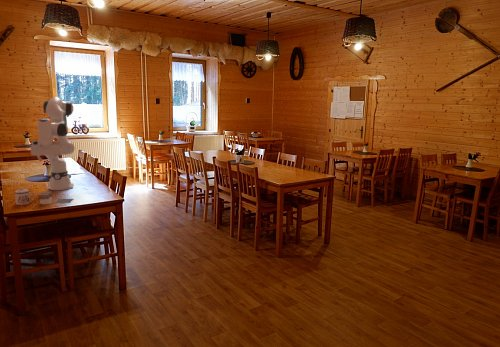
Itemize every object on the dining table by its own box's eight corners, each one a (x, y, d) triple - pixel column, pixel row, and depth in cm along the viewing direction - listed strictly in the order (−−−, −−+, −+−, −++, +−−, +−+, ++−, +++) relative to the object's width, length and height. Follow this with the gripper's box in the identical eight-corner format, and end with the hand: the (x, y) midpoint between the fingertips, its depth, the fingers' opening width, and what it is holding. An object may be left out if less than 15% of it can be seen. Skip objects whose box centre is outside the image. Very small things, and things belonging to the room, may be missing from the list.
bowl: (42, 203, 266) (42, 196, 265) (52, 202, 267) (52, 196, 266) (39, 205, 259) (38, 198, 258) (49, 205, 261) (49, 198, 260)
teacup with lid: (17, 206, 258) (15, 189, 256) (14, 203, 264) (12, 187, 262) (36, 203, 266) (35, 187, 264) (33, 200, 272) (31, 184, 270)
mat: (59, 200, 274) (59, 199, 274) (74, 199, 276) (74, 198, 276) (54, 204, 262) (54, 203, 262) (69, 204, 264) (69, 202, 264)
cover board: (43, 195, 266) (42, 191, 265) (52, 195, 267) (51, 191, 267) (38, 199, 257) (38, 194, 257) (48, 198, 259) (47, 194, 258)
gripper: (63, 141, 271) (64, 160, 273) (32, 141, 267) (34, 160, 269) (60, 142, 265) (62, 161, 267) (28, 142, 261) (30, 162, 263)
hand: (47, 161), depth 268 cm, fingers open, 8 cm apart
